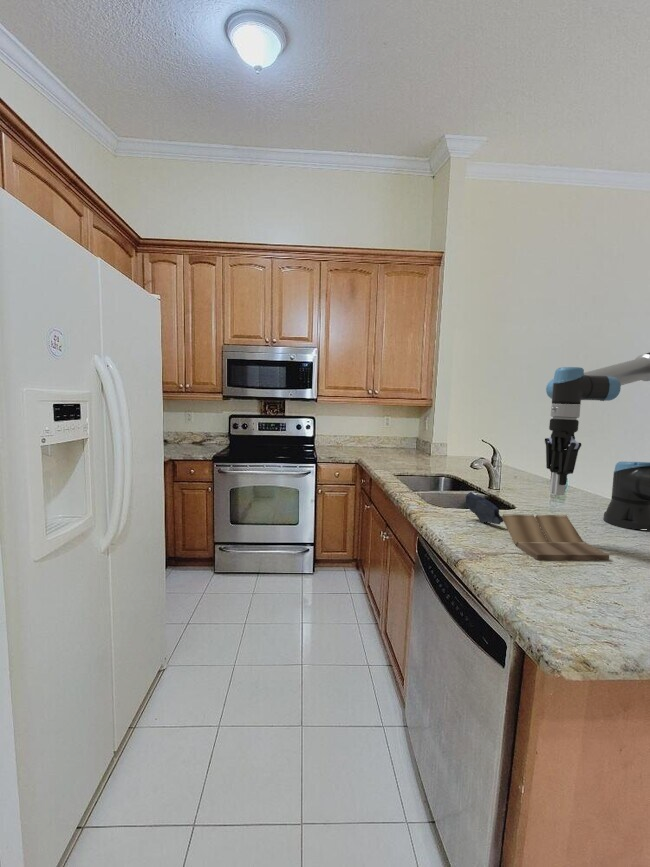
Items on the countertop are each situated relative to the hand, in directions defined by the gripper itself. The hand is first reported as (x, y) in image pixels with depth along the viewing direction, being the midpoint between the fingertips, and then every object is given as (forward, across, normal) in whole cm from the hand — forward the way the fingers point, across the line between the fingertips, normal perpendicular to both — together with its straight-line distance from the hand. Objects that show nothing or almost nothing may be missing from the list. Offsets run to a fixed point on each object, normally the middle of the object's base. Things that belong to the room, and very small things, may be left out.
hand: (557, 493), depth 119 cm
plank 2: (+11, +2, 0) cm, 11 cm away
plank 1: (+11, +2, -11) cm, 16 cm away
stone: (+15, -14, -16) cm, 26 cm away
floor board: (+14, +12, -6) cm, 19 cm away
